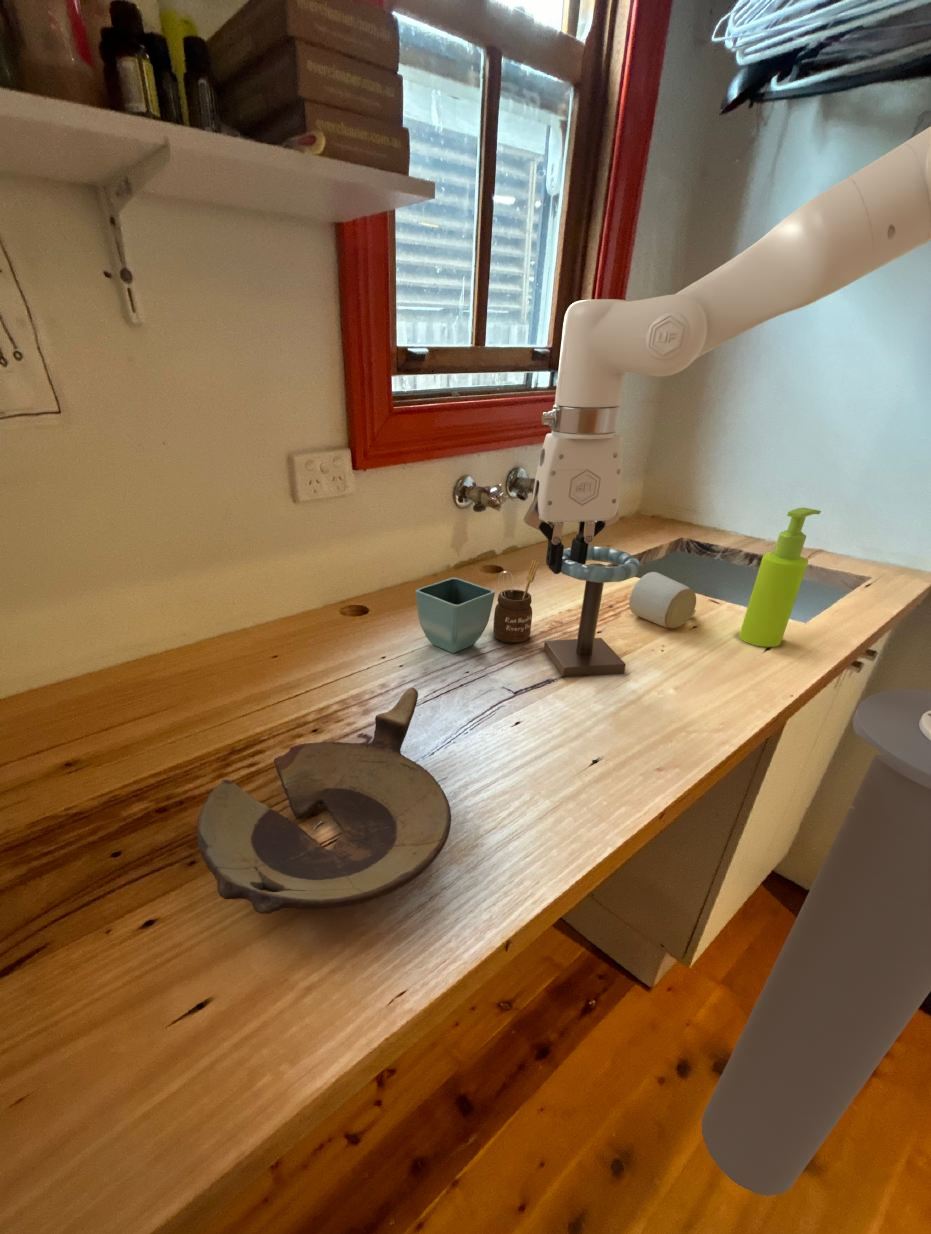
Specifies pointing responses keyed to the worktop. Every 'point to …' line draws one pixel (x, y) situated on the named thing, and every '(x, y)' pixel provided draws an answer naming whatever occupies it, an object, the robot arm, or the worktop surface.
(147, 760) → the worktop surface
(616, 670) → the peg stand
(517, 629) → the utensil holder
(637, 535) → the worktop surface
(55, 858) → the worktop surface
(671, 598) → the ceramic mug
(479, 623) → the flower pot
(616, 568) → the ring
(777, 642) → the soap dispenser
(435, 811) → the oil lamp
